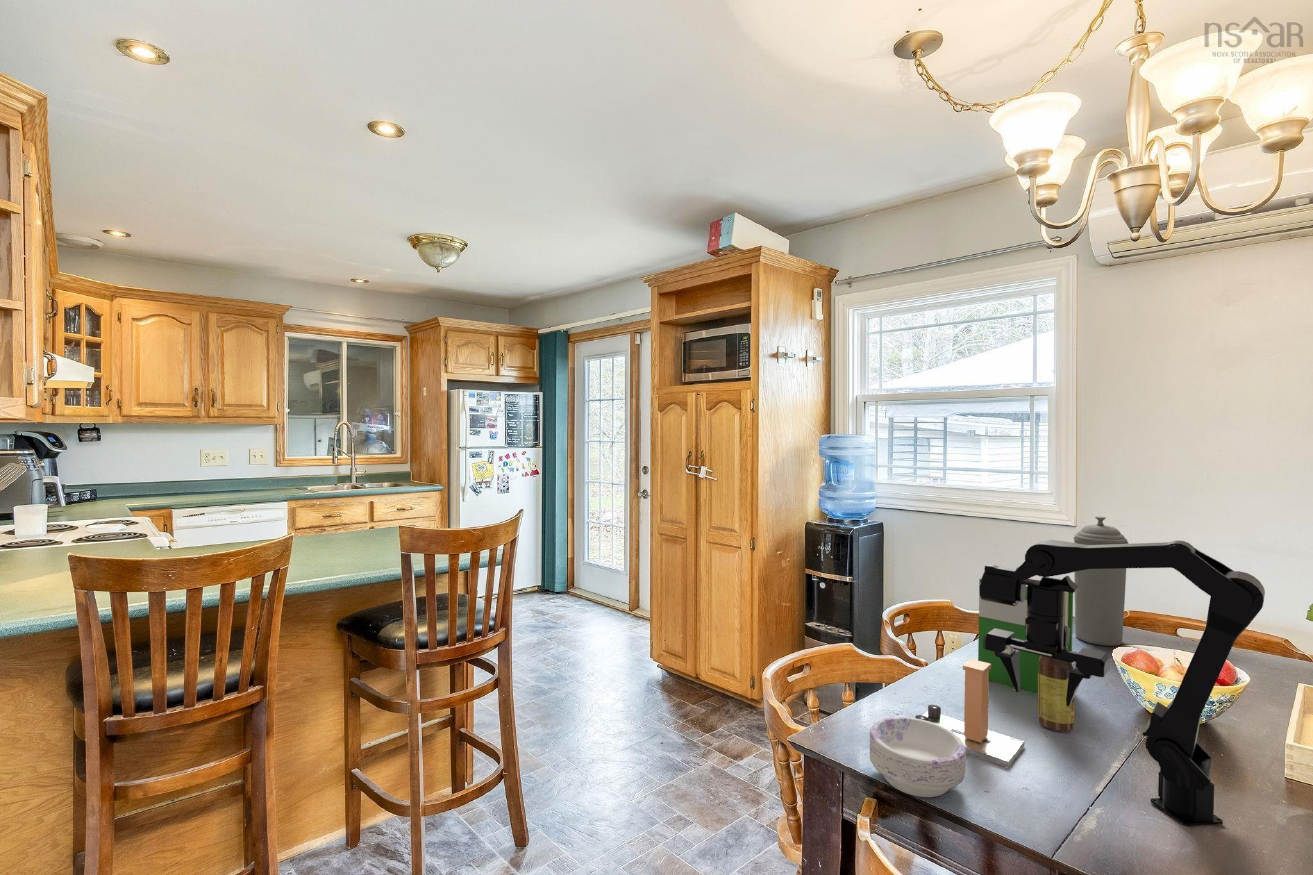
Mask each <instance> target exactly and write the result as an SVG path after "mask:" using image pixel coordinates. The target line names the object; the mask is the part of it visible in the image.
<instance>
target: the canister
mask: <svg viewBox="0 0 1313 875" xmlns="http://www.w3.org/2000/svg"><path fill="white" fill-rule="evenodd" d="M1094 519H1096V520H1097V523H1096V524H1087V525H1085V526H1084V527H1081V529H1080V530H1078V531H1077V533H1075V534H1074V536H1073V540H1074V541H1073V543H1077V544H1083V545H1110V544H1129V541H1128V538H1126V537H1125V535H1123V534H1122V533H1121V532H1120V530H1118V528H1116V527H1113V526H1111V525H1105V524H1104V521H1105V520H1106V517H1105V516H1099V515H1098V516H1095V517H1094ZM1073 573H1074V576H1073V577H1074V581H1073V582H1074V583H1075V584H1076V585H1078V586H1079V589H1078V590H1076V591H1075V592H1074V631H1075V632H1074V634H1075V637H1076V638H1077V639H1079V640H1081V641H1083V642H1087V643H1090V644H1092V645H1093V644H1094V645H1098V646H1105V647H1109V646H1110V647H1115V646H1120V645H1122V643H1123V636H1124V618H1125V615H1124V614H1125V603H1126V601H1125V600H1126V585H1127V584H1126V582H1127V581H1126V580H1127V568H1118V569H1086V570H1081V571H1076V572H1073Z"/></svg>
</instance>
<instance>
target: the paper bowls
mask: <svg viewBox="0 0 1313 875" xmlns="http://www.w3.org/2000/svg"><path fill="white" fill-rule="evenodd" d="M966 755H967V754H966V747H965V745H964V743H963V741H962V740H961V739H960V738H959V737H958V736H957V735H956V734H954V733H953V732H952V731H950V730H948V729H946V728H945V727H943V726H940V725H938V724H935V723H932V722H929V721H926V720H921V719H916V718H914V717H907V716H906V717H905V716H893V717H886V718H883V719H879V720H878V721H876V722H874V723H873V724H872V726H871V727H870V731H869V761H870V762H871V764H872V766H873V768H874V769H876V771H878V772H879V774H881V775H882V776H883V777H884V778H885V780H886V782H888V783H889V785H891V786H892V787H894V788H895V790H898V791H900V792H902V793H904V794H907V795H910V796H914V797H920V798H935V797H940V796H942V795H944V794H946V793H947V792H948V791H949V789H952V788H955V787H958V786H959V785H960V784H961V783H962V782H964V780H965V775H966V766H967V764H966V761H967V756H966Z"/></svg>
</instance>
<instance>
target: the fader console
mask: <svg viewBox="0 0 1313 875" xmlns="http://www.w3.org/2000/svg"><path fill="white" fill-rule="evenodd" d="M915 718H916V719H921V720H926V721H929V722H932V723H935V724H938V725H940V726H943V727H945V728H946V729H948V730H950V731H952V732H953V733H954V734H956V735H957V736H958V737H959V738H960V739H961V740H962V741H963V743H964V745H965V747H966V755H969V754H970V755H969V756H972V757H975V756H976V758H978V759H981V760H984V761H987V762H990V763H992V764H996V765H997V766H998V765H999V766H1002V767H1005V768H1006V769H1007V768H1008V769H1009V768H1010V766H1011V765H1012V764H1013V763H1014V761H1015V760H1016V759H1017V757H1019V755H1020V754H1021V752H1022V751H1023V750H1024V748H1025V740H1023V739H1022V740H1021V739H1018V738H1015V737H1012V736H1010V735H1009V736H1008V735H1006V734H1002V733H999V732H996V731H993V730H990V729H988V736H987V737H986V738H985V739H984V740H983V741H982V742H981V743H980V742H977V741H974V740H971V739H968V738H965V737H964V721H961V720H959V719H956V718H952V717H950V716H946V715H943V714H942V708H941V707H940V706H939V705H936V704H928V705H927V711H926V712H925V713H924V714H916V715H915Z"/></svg>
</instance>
